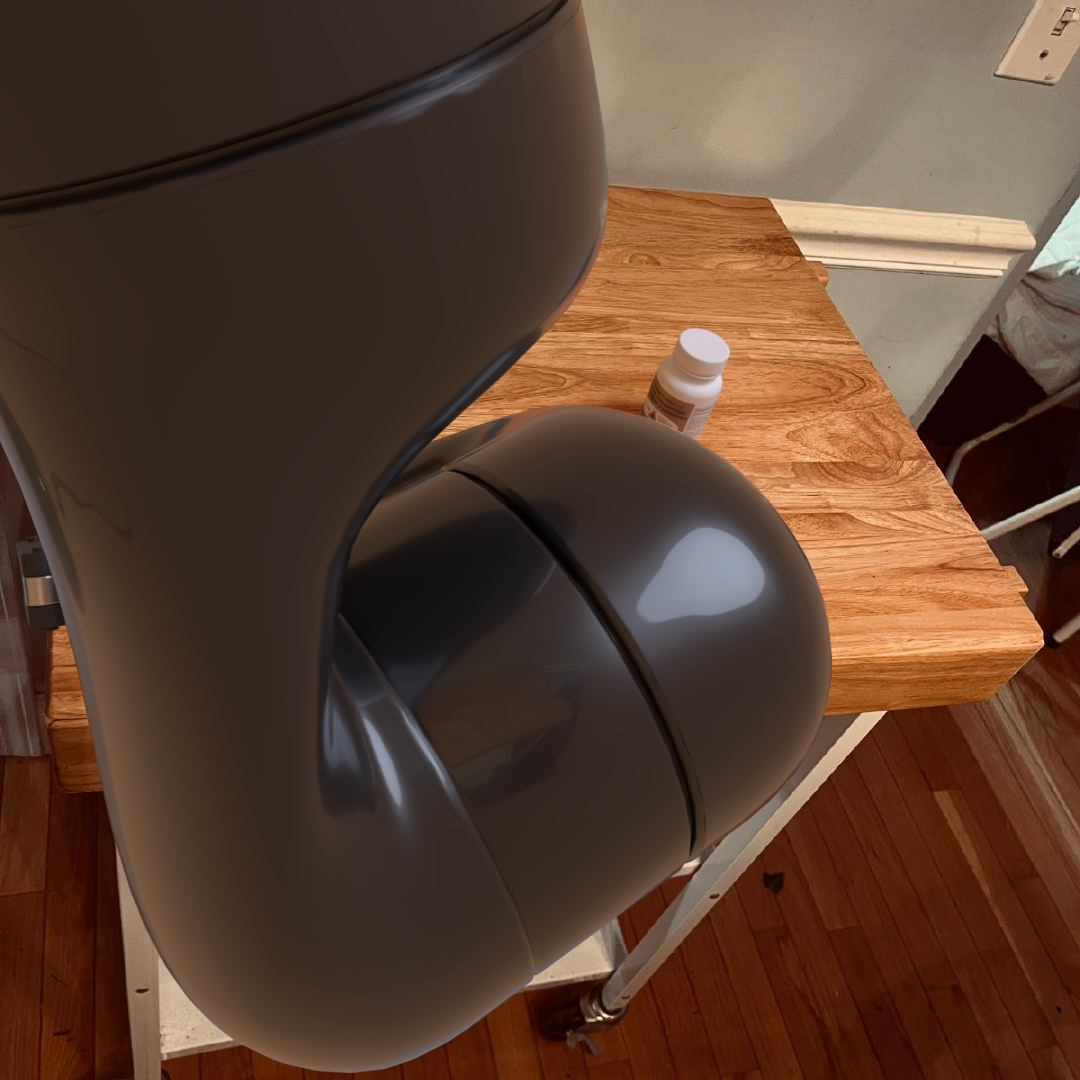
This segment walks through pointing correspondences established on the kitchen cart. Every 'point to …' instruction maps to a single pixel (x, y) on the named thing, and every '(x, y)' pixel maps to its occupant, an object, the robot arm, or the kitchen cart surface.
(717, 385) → the pill bottle
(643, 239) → the kitchen cart surface
